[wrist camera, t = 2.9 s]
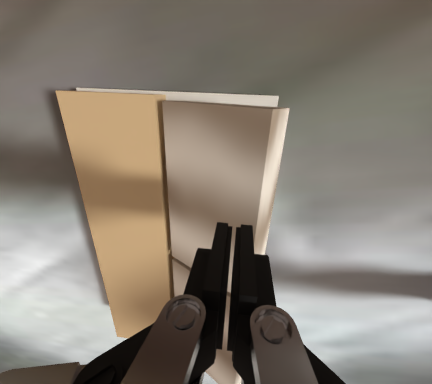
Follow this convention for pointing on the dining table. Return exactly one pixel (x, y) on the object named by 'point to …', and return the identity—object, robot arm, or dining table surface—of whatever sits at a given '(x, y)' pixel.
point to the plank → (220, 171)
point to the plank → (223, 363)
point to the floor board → (129, 191)
